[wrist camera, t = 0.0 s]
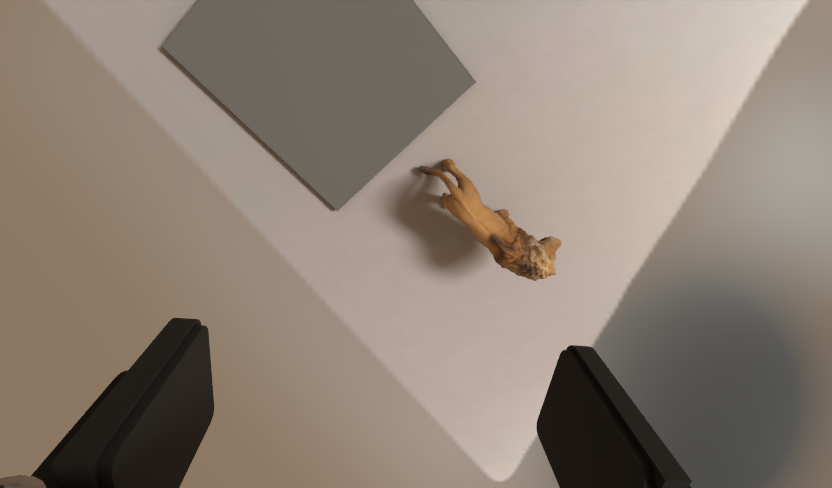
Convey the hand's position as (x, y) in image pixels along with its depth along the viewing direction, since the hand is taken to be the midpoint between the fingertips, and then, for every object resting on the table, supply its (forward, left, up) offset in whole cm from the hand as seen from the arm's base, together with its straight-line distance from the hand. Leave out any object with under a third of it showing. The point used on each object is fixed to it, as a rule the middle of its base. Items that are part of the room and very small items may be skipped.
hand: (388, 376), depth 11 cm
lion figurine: (-3, +11, -32) cm, 33 cm away
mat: (-1, -9, -31) cm, 33 cm away
